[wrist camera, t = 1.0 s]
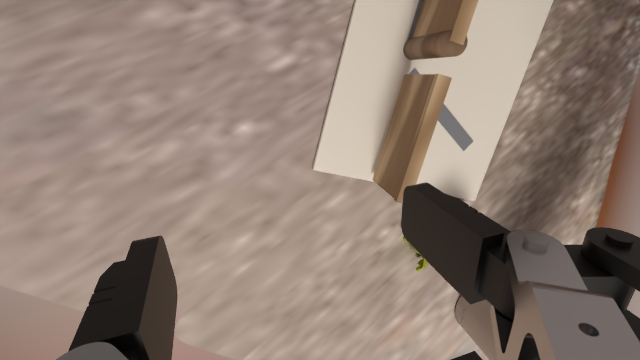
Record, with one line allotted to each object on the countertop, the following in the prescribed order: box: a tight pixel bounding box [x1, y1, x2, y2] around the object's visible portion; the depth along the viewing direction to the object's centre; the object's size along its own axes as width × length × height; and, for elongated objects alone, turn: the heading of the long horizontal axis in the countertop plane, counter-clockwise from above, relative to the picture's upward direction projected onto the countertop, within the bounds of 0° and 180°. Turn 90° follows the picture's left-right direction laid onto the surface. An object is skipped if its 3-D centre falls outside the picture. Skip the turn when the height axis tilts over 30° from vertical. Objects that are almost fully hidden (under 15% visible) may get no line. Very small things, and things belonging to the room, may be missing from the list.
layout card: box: [312, 0, 553, 201], centre depth 40 cm, size 24×28×1 cm
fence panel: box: [373, 74, 452, 203], centre depth 36 cm, size 2×13×8 cm, turn 165°
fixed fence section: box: [403, 0, 478, 60], centre depth 33 cm, size 2×11×8 cm, turn 166°
